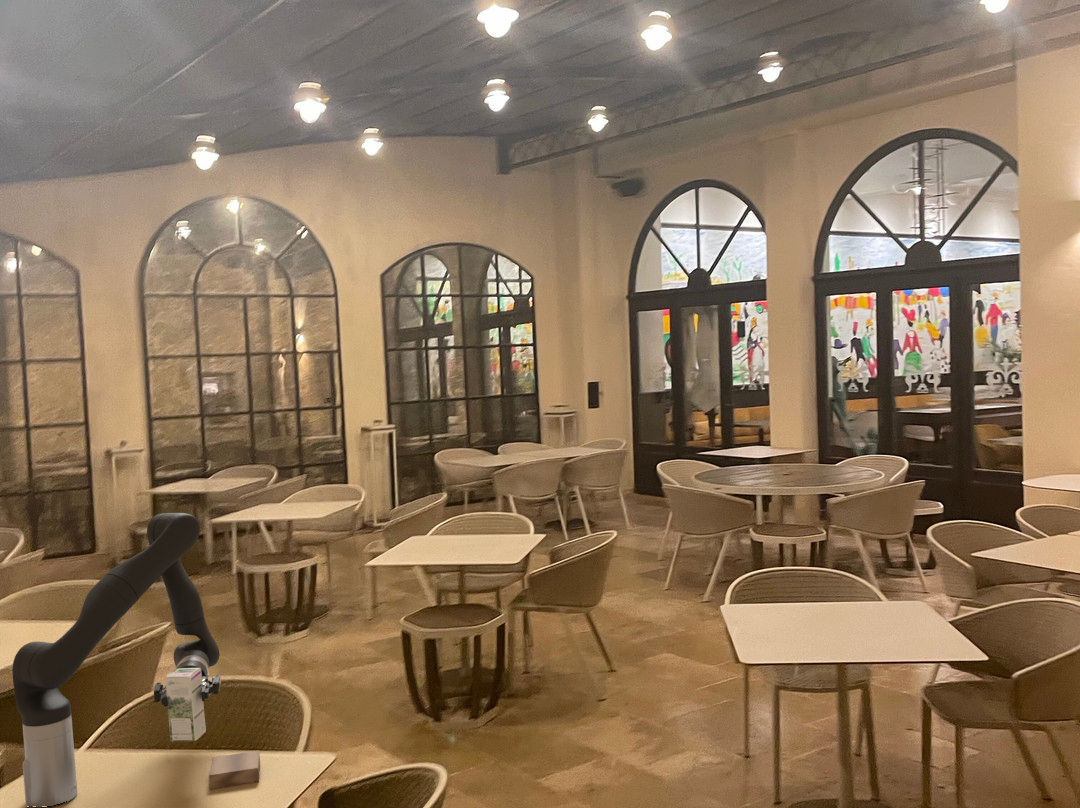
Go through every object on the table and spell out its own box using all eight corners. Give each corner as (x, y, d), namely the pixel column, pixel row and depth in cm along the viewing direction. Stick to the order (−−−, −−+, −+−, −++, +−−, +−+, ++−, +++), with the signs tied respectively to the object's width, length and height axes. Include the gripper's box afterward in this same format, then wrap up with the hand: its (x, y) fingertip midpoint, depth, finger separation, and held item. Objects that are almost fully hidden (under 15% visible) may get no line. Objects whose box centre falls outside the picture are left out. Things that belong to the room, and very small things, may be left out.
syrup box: (206, 731, 212) (202, 666, 211) (194, 742, 206) (189, 675, 206) (181, 731, 213) (176, 666, 212) (169, 742, 207) (164, 676, 206)
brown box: (209, 789, 205) (208, 775, 205) (213, 770, 215) (212, 757, 215) (259, 781, 208) (258, 767, 208) (260, 763, 217) (259, 750, 217)
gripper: (156, 663, 221) (147, 686, 205) (222, 655, 225) (218, 677, 209) (158, 696, 221) (149, 721, 205) (224, 687, 225) (220, 711, 209)
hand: (184, 699), depth 207 cm, fingers closed on syrup box, 7 cm apart
